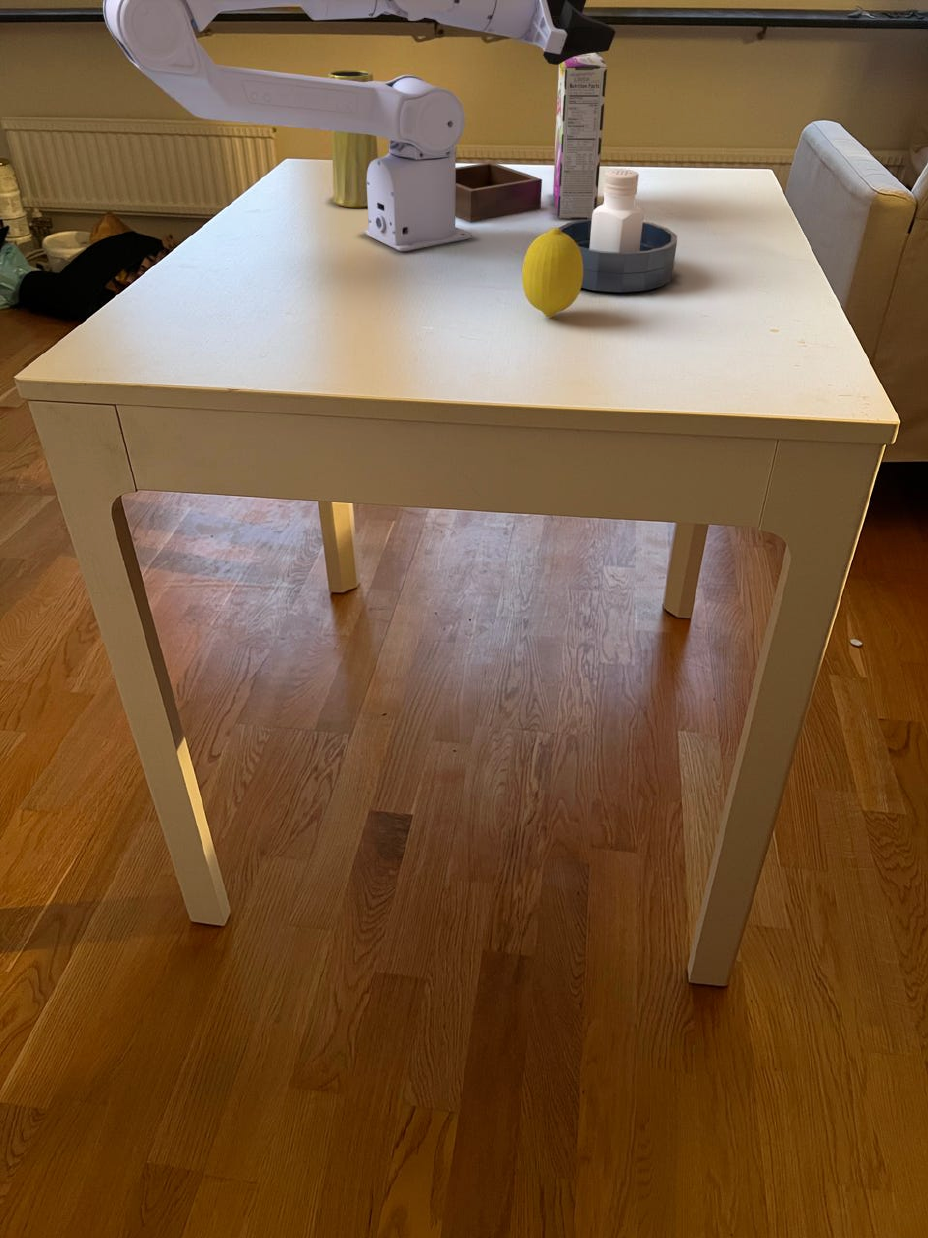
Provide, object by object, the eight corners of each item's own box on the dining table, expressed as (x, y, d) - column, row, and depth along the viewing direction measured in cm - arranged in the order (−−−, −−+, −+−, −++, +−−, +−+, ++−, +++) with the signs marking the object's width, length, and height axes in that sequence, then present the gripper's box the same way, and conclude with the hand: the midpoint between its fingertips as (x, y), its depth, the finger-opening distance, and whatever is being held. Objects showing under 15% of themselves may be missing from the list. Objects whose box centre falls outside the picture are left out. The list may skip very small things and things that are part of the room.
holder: (470, 222, 114) (471, 191, 112) (422, 202, 121) (422, 172, 119) (540, 209, 119) (542, 178, 117) (490, 190, 126) (491, 161, 124)
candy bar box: (550, 195, 124) (558, 49, 114) (589, 196, 124) (600, 49, 114) (554, 220, 115) (564, 63, 105) (596, 220, 115) (610, 64, 105)
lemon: (531, 330, 87) (536, 239, 82) (512, 309, 91) (516, 221, 86) (588, 325, 88) (596, 234, 83) (567, 304, 92) (573, 217, 88)
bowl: (606, 303, 93) (610, 261, 90) (529, 269, 101) (531, 229, 98) (696, 280, 98) (702, 239, 96) (616, 249, 106) (620, 211, 104)
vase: (351, 210, 118) (343, 78, 109) (324, 200, 122) (314, 71, 113) (391, 202, 121) (386, 73, 112) (364, 192, 125) (357, 67, 116)
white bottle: (607, 263, 102) (617, 165, 96) (639, 271, 99) (650, 172, 94) (584, 271, 99) (593, 172, 93) (616, 280, 97) (627, 180, 91)
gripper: (523, -11, 92) (640, 15, 97) (473, -77, 99) (585, -50, 105) (499, 65, 97) (611, 85, 103) (453, -3, 104) (561, 19, 110)
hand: (596, 22), depth 104 cm, fingers open, 7 cm apart
